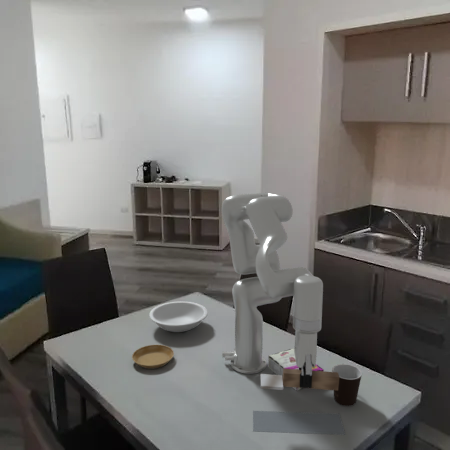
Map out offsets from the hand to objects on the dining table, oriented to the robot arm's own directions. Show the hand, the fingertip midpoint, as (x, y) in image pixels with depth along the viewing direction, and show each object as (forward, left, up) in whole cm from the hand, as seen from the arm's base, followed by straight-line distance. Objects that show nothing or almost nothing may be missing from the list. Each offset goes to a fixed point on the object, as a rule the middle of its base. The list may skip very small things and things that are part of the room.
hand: (304, 383), depth 124 cm
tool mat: (-2, 0, -13) cm, 13 cm away
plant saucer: (-50, +32, -13) cm, 61 cm away
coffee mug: (+15, +13, -13) cm, 24 cm away
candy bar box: (+4, +18, -10) cm, 21 cm away
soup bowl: (-45, +59, -13) cm, 75 cm away
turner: (-2, 0, 0) cm, 2 cm away
